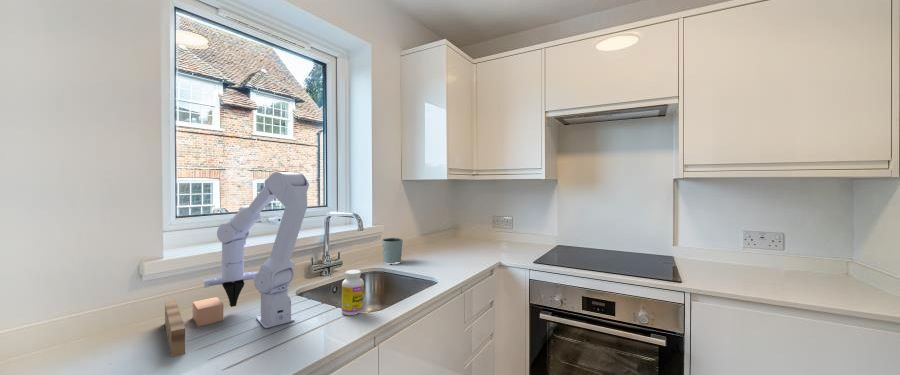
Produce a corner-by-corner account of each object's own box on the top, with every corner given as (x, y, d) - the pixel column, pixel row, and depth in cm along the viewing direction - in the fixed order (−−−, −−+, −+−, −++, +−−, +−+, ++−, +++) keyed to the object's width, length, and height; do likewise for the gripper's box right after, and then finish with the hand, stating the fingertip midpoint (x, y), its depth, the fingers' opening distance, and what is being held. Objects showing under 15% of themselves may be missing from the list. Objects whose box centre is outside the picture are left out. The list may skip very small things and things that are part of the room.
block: (223, 320, 98) (223, 303, 98) (198, 326, 94) (198, 309, 94) (216, 312, 104) (216, 297, 103) (192, 318, 99) (192, 301, 99)
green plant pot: (403, 260, 173) (403, 237, 173) (401, 265, 163) (401, 241, 163) (383, 260, 173) (383, 237, 172) (380, 265, 162) (380, 241, 162)
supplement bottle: (351, 317, 101) (352, 275, 101) (337, 313, 105) (337, 272, 104) (367, 310, 107) (368, 270, 106) (353, 306, 110) (353, 267, 110)
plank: (185, 353, 79) (185, 328, 79) (171, 356, 78) (171, 331, 77) (176, 321, 97) (176, 300, 97) (164, 323, 95) (164, 302, 95)
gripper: (256, 256, 111) (256, 296, 111) (202, 263, 101) (202, 307, 101) (262, 260, 105) (261, 302, 106) (205, 267, 95) (205, 314, 96)
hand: (233, 305), depth 103 cm, fingers closed
